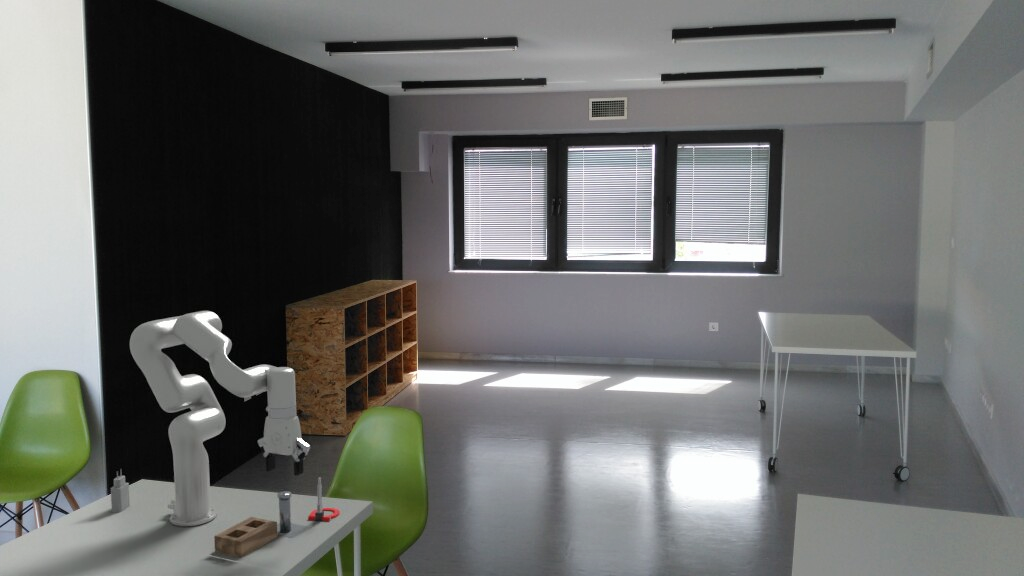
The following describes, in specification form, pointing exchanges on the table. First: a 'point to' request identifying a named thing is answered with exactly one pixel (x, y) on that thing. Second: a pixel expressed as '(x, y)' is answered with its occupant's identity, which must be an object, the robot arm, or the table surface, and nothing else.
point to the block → (245, 536)
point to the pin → (284, 511)
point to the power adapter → (120, 494)
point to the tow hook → (318, 513)
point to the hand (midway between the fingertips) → (284, 472)
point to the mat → (292, 530)
